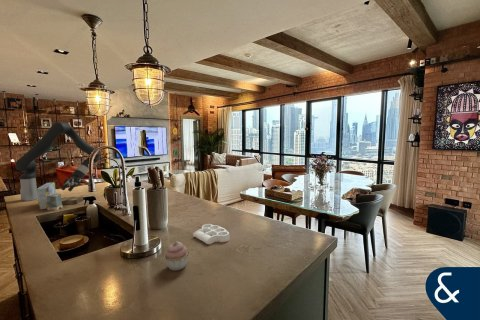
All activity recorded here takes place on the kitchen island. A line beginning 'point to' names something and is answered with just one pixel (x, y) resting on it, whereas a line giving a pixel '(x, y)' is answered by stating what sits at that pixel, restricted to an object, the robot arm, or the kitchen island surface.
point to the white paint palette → (212, 234)
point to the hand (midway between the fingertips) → (65, 190)
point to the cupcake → (176, 256)
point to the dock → (71, 200)
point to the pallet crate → (54, 201)
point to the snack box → (45, 194)
